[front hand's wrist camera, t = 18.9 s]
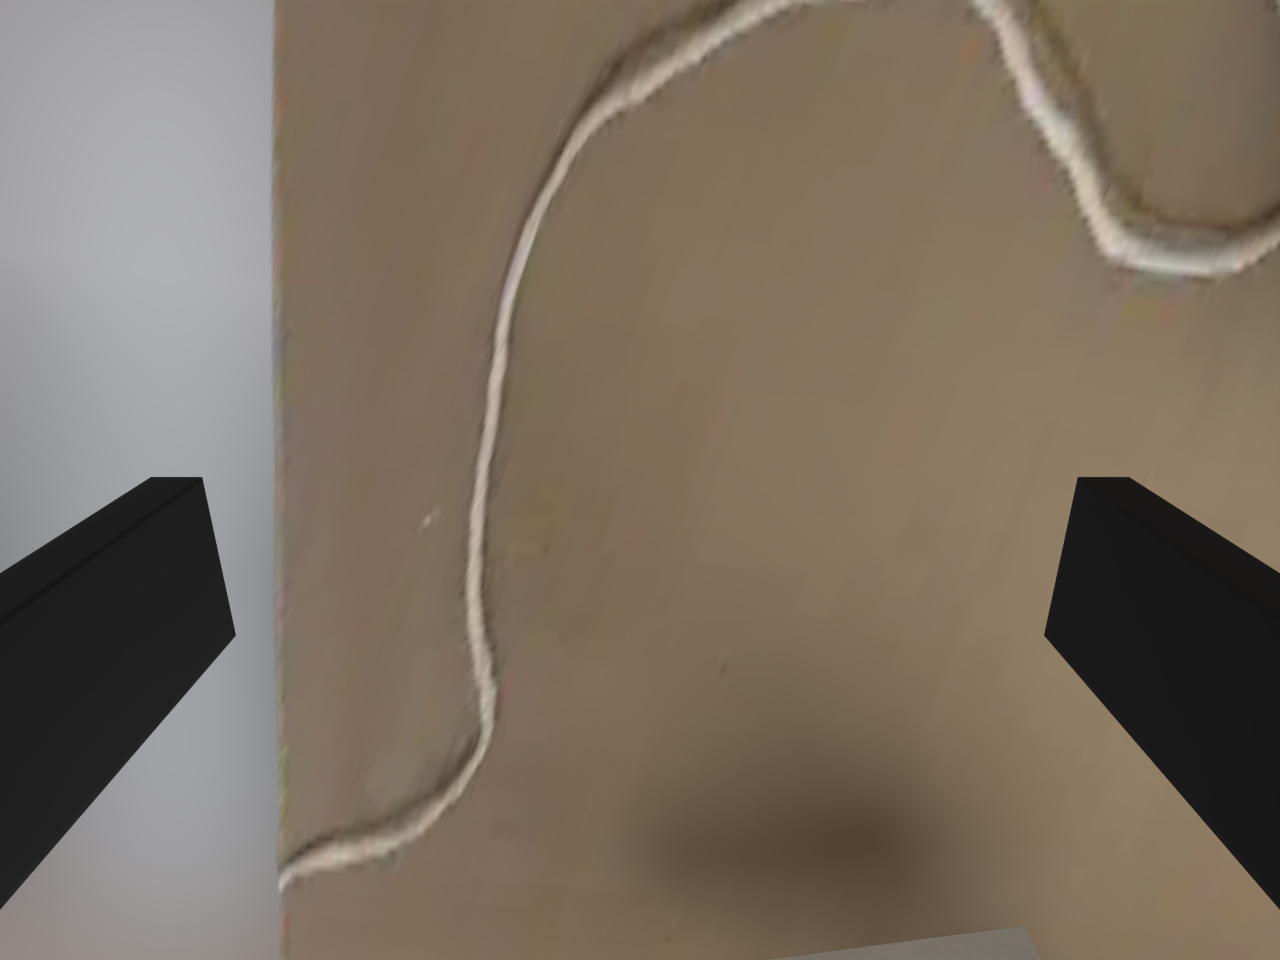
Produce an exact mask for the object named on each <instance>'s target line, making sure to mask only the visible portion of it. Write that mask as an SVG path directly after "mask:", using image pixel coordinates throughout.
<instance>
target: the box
mask: <svg viewBox="0 0 1280 960" xmlns="http://www.w3.org/2000/svg"><path fill="white" fill-rule="evenodd" d="M766 960H1041V959H1040V957H1039V955H1038V953H1037V951H1036V949H1035V947H1034V945H1033V943H1032V941H1031V939H1030V937H1029V935H1028V933H1027V931H1026V929H1025V927H1024V926H1018V927H1010V928H1003V929H995V930H988V931H980V932H972V933H965V934H957V935H949V936H942V937H934V938H926V939H919V940H911V941H903V942H896V943H888V944H880V945H873V946H865V947H857V948H850V949H842V950H835V951H827V952H819V953H812V954H804V955H796V956H789V957H781V958H773V959H766Z"/></svg>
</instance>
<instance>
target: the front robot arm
mask: <svg viewBox="0 0 1280 960" xmlns="http://www.w3.org/2000/svg"><path fill="white" fill-rule="evenodd" d="M235 636H236V634H235V629H234V624H233V620H232V615H231V610H230V606H229V601H228V596H227V591H226V587H225V582H224V577H223V573H222V568H221V563H220V559H219V554H218V549H217V545H216V540H215V535H214V531H213V526H212V521H211V516H210V512H209V507H208V502H207V498H206V493H205V488H204V484H203V479H202V477H150V478H149V479H147V480H146V481H144V482H143V483H141V484H140V485H138V486H137V487H135V488H133V489H132V490H130V491H129V492H127V493H125V494H124V495H122V496H121V497H119V498H118V499H116V500H115V501H113V502H111V503H110V504H108V505H107V506H105V507H104V508H102V509H100V510H99V511H97V512H96V513H94V514H92V515H91V516H89V517H88V518H86V519H85V520H83V521H81V522H80V523H78V524H77V525H75V526H74V527H72V528H71V529H69V530H67V531H66V532H64V533H63V534H61V535H60V536H58V537H56V538H55V539H53V540H52V541H50V542H49V543H47V544H45V545H44V546H42V547H41V548H39V549H38V550H36V551H34V552H33V553H31V554H30V555H28V556H27V557H25V558H23V559H22V560H20V561H19V562H17V563H16V564H14V565H12V566H11V567H9V568H8V569H6V570H5V571H3V572H2V573H0V909H1V908H2V907H3V906H4V905H5V903H6V902H7V901H8V900H9V899H10V898H11V896H12V895H13V894H14V893H15V892H16V890H17V889H18V888H19V887H20V886H21V885H22V884H23V882H24V881H25V880H26V879H27V878H28V877H29V875H30V874H31V873H32V872H33V871H34V870H35V869H36V867H37V866H38V865H39V864H40V863H41V862H42V860H43V859H44V858H45V857H46V856H47V855H48V853H49V852H50V851H51V850H52V849H53V848H54V846H55V845H56V844H57V843H58V842H59V841H60V839H61V838H62V837H63V836H64V835H65V834H66V832H67V831H68V830H69V829H70V828H71V827H72V825H73V824H74V823H75V822H76V821H77V820H78V818H79V817H80V816H81V815H82V814H83V813H84V812H85V810H86V809H87V808H88V807H89V806H90V805H91V803H92V802H93V801H94V800H95V799H96V797H97V796H98V795H99V794H100V793H101V792H102V791H103V789H104V788H105V787H106V786H107V785H108V784H109V782H110V781H111V780H112V779H113V778H114V777H115V775H116V774H117V773H118V772H119V771H120V770H121V768H122V767H123V766H124V765H125V764H126V763H127V761H128V760H129V759H130V758H131V757H132V756H133V755H134V753H135V752H136V751H137V750H138V749H139V747H140V746H141V745H142V744H143V743H144V742H145V740H146V739H147V738H148V737H149V736H150V735H151V734H152V732H153V731H154V730H155V729H156V728H157V727H158V725H159V724H160V723H161V722H162V721H163V720H164V718H165V717H166V716H167V715H168V714H169V713H170V711H171V710H172V709H173V708H174V707H175V706H176V704H177V703H178V702H179V701H180V700H181V699H182V698H183V696H184V695H185V694H186V693H187V692H188V691H189V689H190V688H191V687H192V686H193V685H194V684H195V682H196V681H197V680H198V679H199V678H200V677H201V675H202V674H203V673H204V672H205V671H206V670H207V668H208V667H209V666H210V665H211V664H212V663H213V661H214V660H215V659H216V658H217V657H218V656H219V655H220V653H221V652H222V651H223V650H224V649H225V647H226V646H227V645H228V644H229V643H230V642H231V641H232V639H233V638H234V637H235ZM1044 636H1045V637H1046V638H1047V639H1048V641H1049V642H1050V643H1051V644H1052V645H1053V646H1054V648H1055V649H1056V650H1057V651H1058V652H1059V653H1060V655H1061V656H1062V657H1063V658H1064V659H1065V660H1066V661H1067V663H1068V664H1069V665H1070V666H1071V667H1072V668H1073V670H1074V671H1075V672H1076V673H1077V674H1078V675H1079V677H1080V678H1081V679H1082V680H1083V681H1084V682H1085V684H1086V685H1087V686H1088V687H1089V688H1090V689H1091V691H1092V692H1093V693H1094V694H1095V695H1096V696H1097V698H1098V699H1099V700H1100V701H1101V702H1102V703H1103V705H1104V706H1105V707H1106V708H1107V709H1108V710H1109V711H1110V713H1111V714H1112V715H1113V716H1114V717H1115V718H1116V720H1117V721H1118V722H1119V723H1120V724H1121V725H1122V727H1123V728H1124V729H1125V730H1126V731H1127V732H1128V734H1129V735H1130V736H1131V737H1132V738H1133V739H1134V741H1135V742H1136V743H1137V744H1138V745H1139V746H1140V748H1141V749H1142V750H1143V751H1144V752H1145V753H1146V755H1147V756H1148V757H1149V758H1150V759H1151V760H1152V762H1153V763H1154V764H1155V765H1156V766H1157V767H1158V768H1159V770H1160V771H1161V772H1162V773H1163V774H1164V775H1165V777H1166V778H1167V779H1168V780H1169V781H1170V782H1171V784H1172V785H1173V786H1174V787H1175V788H1176V789H1177V791H1178V792H1179V793H1180V794H1181V795H1182V796H1183V798H1184V799H1185V800H1186V801H1187V802H1188V803H1189V805H1190V806H1191V807H1192V808H1193V809H1194V810H1195V812H1196V813H1197V814H1198V815H1199V816H1200V817H1201V818H1202V820H1203V821H1204V822H1205V823H1206V824H1207V825H1208V827H1209V828H1210V829H1211V830H1212V831H1213V832H1214V834H1215V835H1216V836H1217V837H1218V838H1219V839H1220V841H1221V842H1222V843H1223V844H1224V845H1225V846H1226V848H1227V849H1228V850H1229V851H1230V852H1231V853H1232V855H1233V856H1234V857H1235V858H1236V859H1237V860H1238V862H1239V863H1240V864H1241V865H1242V866H1243V867H1244V869H1245V870H1246V871H1247V872H1248V873H1249V874H1250V875H1251V877H1252V878H1253V879H1254V880H1255V881H1256V882H1257V884H1258V885H1259V886H1260V887H1261V888H1262V889H1263V891H1264V892H1265V893H1266V894H1267V895H1268V896H1269V898H1270V899H1271V900H1272V901H1273V902H1274V903H1275V905H1276V906H1277V907H1278V908H1279V909H1280V573H1279V572H1277V571H1275V570H1274V569H1272V568H1271V567H1269V566H1268V565H1266V564H1264V563H1263V562H1261V561H1260V560H1258V559H1257V558H1255V557H1253V556H1252V555H1250V554H1249V553H1247V552H1246V551H1244V550H1242V549H1241V548H1239V547H1238V546H1236V545H1235V544H1233V543H1231V542H1230V541H1228V540H1227V539H1225V538H1224V537H1222V536H1220V535H1219V534H1217V533H1216V532H1214V531H1213V530H1211V529H1210V528H1208V527H1206V526H1205V525H1203V524H1202V523H1200V522H1199V521H1197V520H1195V519H1194V518H1192V517H1191V516H1189V515H1188V514H1186V513H1184V512H1183V511H1181V510H1180V509H1178V508H1177V507H1175V506H1173V505H1172V504H1170V503H1169V502H1167V501H1166V500H1164V499H1162V498H1161V497H1159V496H1158V495H1156V494H1155V493H1153V492H1151V491H1150V490H1148V489H1147V488H1145V487H1144V486H1142V485H1140V484H1139V483H1137V482H1136V481H1134V480H1133V479H1131V478H1130V477H1078V479H1077V484H1076V488H1075V493H1074V498H1073V502H1072V507H1071V512H1070V516H1069V521H1068V526H1067V530H1066V535H1065V540H1064V545H1063V549H1062V554H1061V559H1060V563H1059V568H1058V573H1057V577H1056V582H1055V587H1054V591H1053V596H1052V601H1051V606H1050V610H1049V615H1048V620H1047V624H1046V629H1045V634H1044Z"/></svg>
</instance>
